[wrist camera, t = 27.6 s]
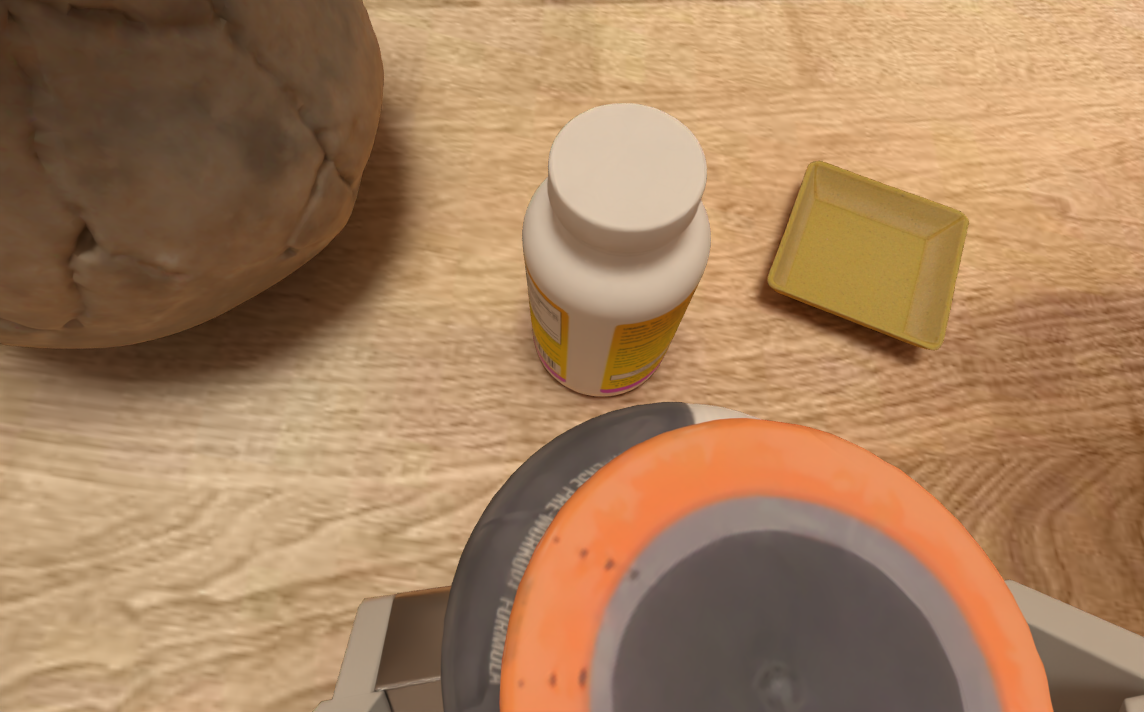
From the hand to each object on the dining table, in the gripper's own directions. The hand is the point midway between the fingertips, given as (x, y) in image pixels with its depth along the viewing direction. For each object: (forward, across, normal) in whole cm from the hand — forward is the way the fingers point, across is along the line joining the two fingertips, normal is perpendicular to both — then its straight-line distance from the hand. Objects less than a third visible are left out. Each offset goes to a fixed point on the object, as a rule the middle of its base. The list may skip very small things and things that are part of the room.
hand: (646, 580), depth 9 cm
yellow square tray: (+21, -16, +2) cm, 27 cm away
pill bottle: (+4, 0, +5) cm, 6 cm away
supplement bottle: (+19, -2, +4) cm, 20 cm away
